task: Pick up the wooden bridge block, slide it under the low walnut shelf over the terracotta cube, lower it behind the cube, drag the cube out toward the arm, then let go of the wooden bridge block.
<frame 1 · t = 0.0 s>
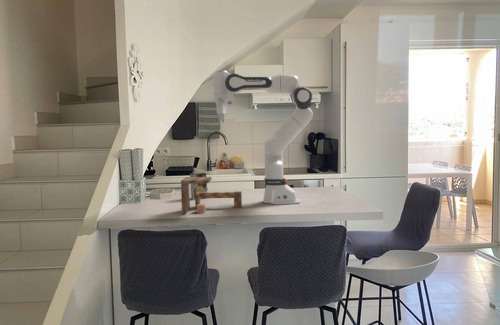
hand: (221, 122, 239), 48 cm above the countertop, tool pointing down, fingers open, 8 cm apart
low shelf: (197, 211, 216), on the countertop
wooden bridge block: (225, 207, 228), on the countertop
cube: (201, 212, 216), on the countertop
coffee box: (199, 198, 258), on the countertop
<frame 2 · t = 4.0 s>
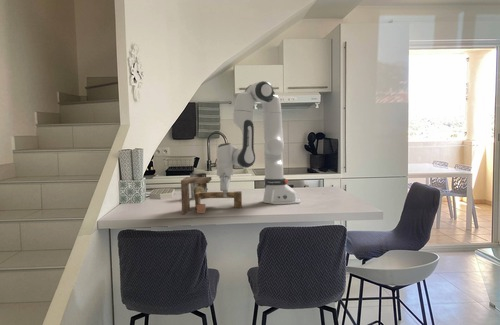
hand: (225, 196, 227), 6 cm above the countertop, tool pointing down, fingers closed on wooden bridge block, 2 cm apart
wooden bridge block: (225, 207, 228), on the countertop, touching gripper
everything else where it was.
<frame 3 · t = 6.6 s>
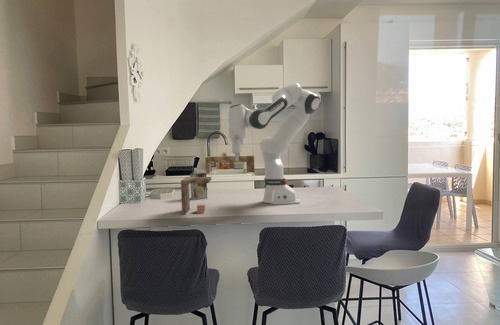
hand: (237, 160, 216), 27 cm above the countertop, tool pointing down, fingers closed on wooden bridge block, 2 cm apart
wooden bridge block: (237, 172, 217), point 21 cm above the countertop, touching gripper
everything else where it was.
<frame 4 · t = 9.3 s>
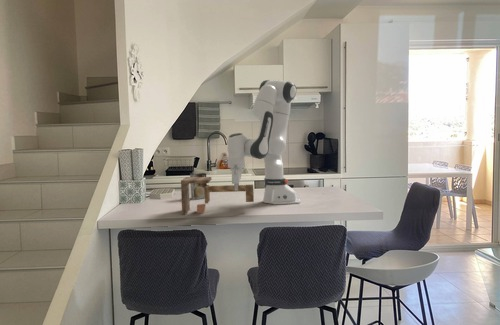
hand: (236, 189, 214), 12 cm above the countertop, tool pointing down, fingers closed on wooden bridge block, 2 cm apart
wooden bridge block: (236, 201, 215), point 6 cm above the countertop, touching gripper
everything else where it was.
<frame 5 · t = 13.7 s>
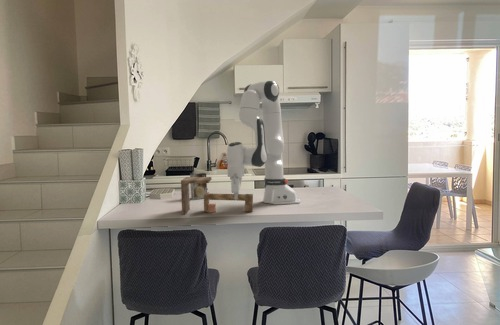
hand: (236, 198, 215), 7 cm above the countertop, tool pointing down, fingers closed on wooden bridge block, 2 cm apart
wooden bridge block: (235, 210, 216), point 1 cm above the countertop, touching gripper
cube: (211, 211, 216), on the countertop
everything else where it was.
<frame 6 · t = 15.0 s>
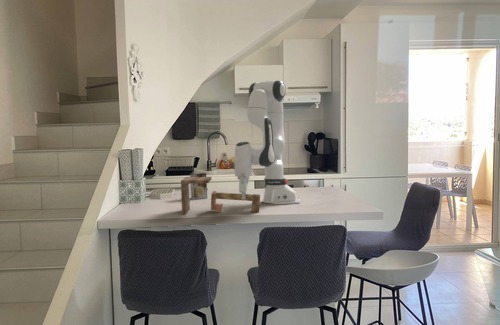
hand: (243, 198, 215), 7 cm above the countertop, tool pointing down, fingers closed on wooden bridge block, 2 cm apart
wooden bridge block: (242, 210, 216), point 1 cm above the countertop, touching cube, gripper
cube: (218, 211, 216), on the countertop, touching wooden bridge block
everything else where it was.
when the fingers open (7 cm above the countertop, at t = 15.0 s): wooden bridge block stays where it is, on the countertop.
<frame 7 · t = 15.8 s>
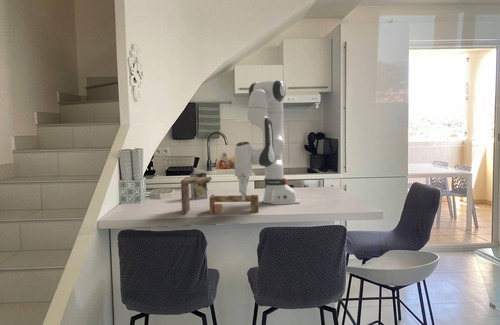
hand: (243, 198, 215), 7 cm above the countertop, tool pointing down, fingers open, 8 cm apart
wooden bridge block: (241, 211, 216), on the countertop
cube: (218, 211, 216), on the countertop
everything else where it was.
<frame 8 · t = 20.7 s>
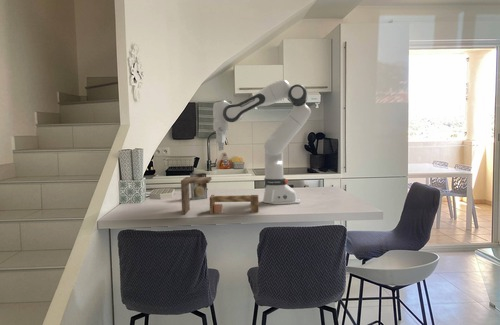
hand: (221, 150, 246), 31 cm above the countertop, tool pointing down, fingers open, 8 cm apart
nothing on the countertop moved.
at the end: cube inside the target area (3.4 cm from its centre), on the countertop; cube tilted 0°; the gripper is holding nothing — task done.
